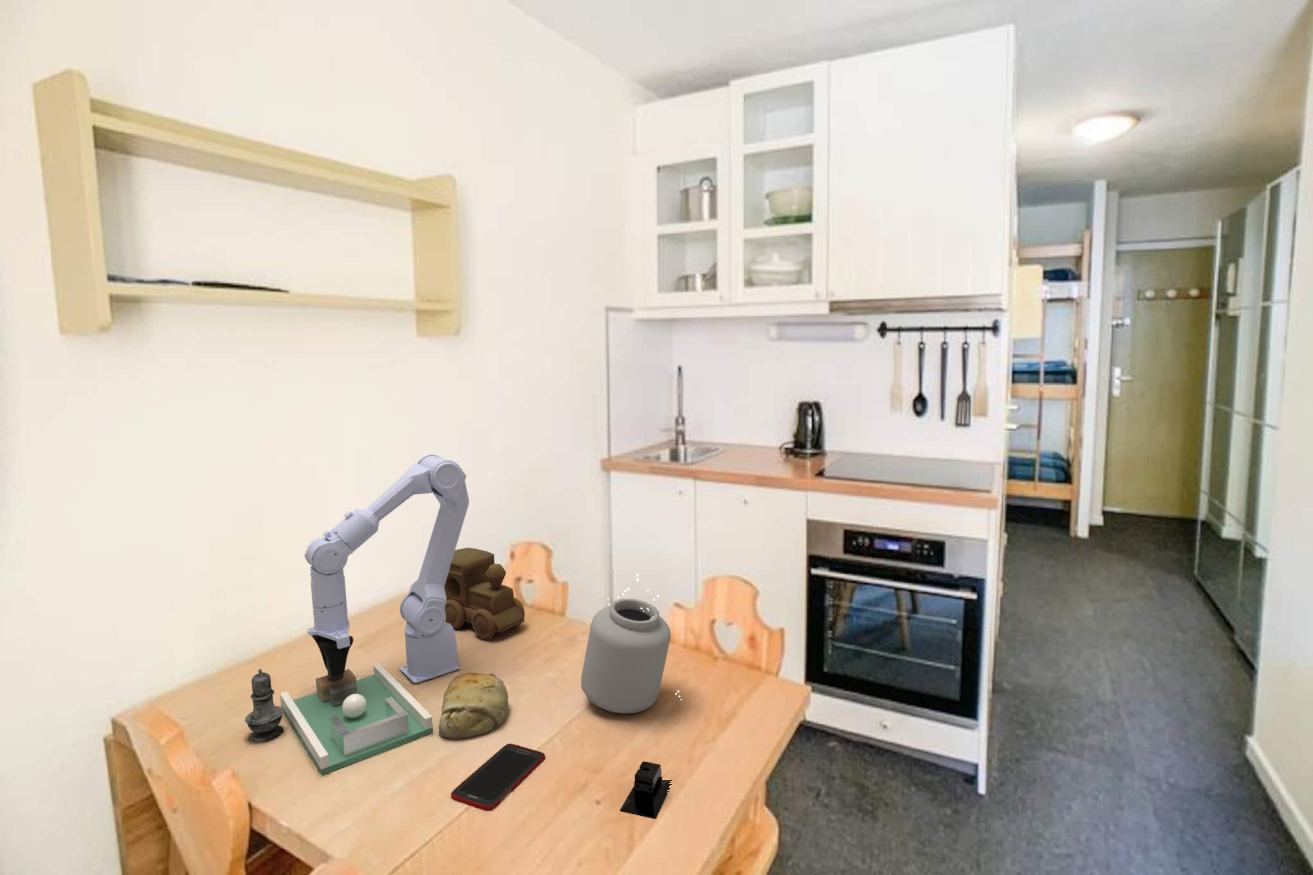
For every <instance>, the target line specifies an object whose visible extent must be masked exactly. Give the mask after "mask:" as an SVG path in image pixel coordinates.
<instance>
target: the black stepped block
mask: <svg viewBox="0 0 1313 875" xmlns="http://www.w3.org/2000/svg"><path fill="white" fill-rule="evenodd" d="M663 777H664V776H662V766H661V764H659V763H654V762H648V761H643V760H642V762H641V764H640V765H639V767H638V769H637V770H636V772H635V773H634V782H633V787H632V789H630V792H629V793H628V796H627V797H626V799H625V800H624V802H623V804H622V806H620V809H619V811H620V812H621V813H626V814H629V815H634V816H639V817H644V818H648V819H652V820H657V818H658V816H659V814H660V812H661V809H662V807H663V805H664V802H665V800H666V798H667V796H668V795H669V792H670V790H671V788H669V786H670V785H673V784H669V783H671V782H670V781H672V780H662V778H663ZM669 789H670V790H669ZM667 790H669V791H667ZM667 792H668V793H667ZM667 794H668V795H667Z"/></svg>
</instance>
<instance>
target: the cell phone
mask: <svg viewBox="0 0 1313 875" xmlns="http://www.w3.org/2000/svg"><path fill="white" fill-rule="evenodd" d="M545 759H546V754H545V753H544V752H542V751H539V750H536V749H532V748H530V747H529V748H528V747H525V746H521V745H519V744H514V743H507V744H505V745H504V746H503V747H501V748H500V749H499V750H498V751H497V752H495V753H494V754H492V756H491V757H490V758H488V759H487V760H486V761H485V762H484V763H483V764H481V766H479V767H478V768H477V769H476V770H474V772H472V773H471V774H470V775H469V776H468V777H466V778H465V779H464V780H463V781H462V782H461V783H460V784H459V785H458V786H456V787H455V788H453V790H452V791H451V794H450V798H451V800H453V801H455V802H458V803H461V804H465V805H468V806H470V807H473V808H476V809H480V810H482V811H487V812H491V811H493V810H494V809H495V808H497V806H499V805H500V804H501V803H502V802H503V800H504V799H505V798H506V797H507V796H508V795H509V794H510V793H512V792H513V791H514V790H515V789H516V788H518V786H519V785H520V784H521V783H523V781H524V780H525V779H526V778H527V777H528V776H530V774H532V772H534V770H535V769H536V768H538V767H539V766H540V764H542V763H543V761H544V760H545Z"/></svg>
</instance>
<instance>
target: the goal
mask: <svg viewBox="0 0 1313 875" xmlns="http://www.w3.org/2000/svg"><path fill="white" fill-rule="evenodd" d="M385 711H386V718H385V719H382V720H379V721H376V722H373V723H370V724H368V725H365V726H362V727H359V728H356V729H353V730H351V731H348V729H347V728H346V727H345V725H344V724H343V723H342V721H341V720H340V719H339V717H338V716H337V715H336V716H333V717H330V718H329V720H330V732H331V738H332V739H333V741H334V742H335V744H336V745H337V747H338V748H339V749H340V751H341V752H342V754H343V755H344V757H347V756H350V755H352V754H355V753H358V752H360V751H363V750H366V749H368V748H371V747H374V746H376V745H379V744H382V743H385V742H387V741H390V740H393V739H395V738H398V737H401V736H403V735H406V734H409V725H408V714H407V713H406V712H405V711H404V710H403V708H402V707H401V706H400V705H399V704H398V703H397V702H396V701H395V700H394V699H393V698H392V697H389V698H386V699H385Z"/></svg>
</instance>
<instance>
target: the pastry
mask: <svg viewBox="0 0 1313 875" xmlns="http://www.w3.org/2000/svg"><path fill="white" fill-rule="evenodd" d="M509 710H510V709H509V694H508V691H507V687H506V685H505V684H504V680H502V678H500V677H498V676H497V675H496V674H494V673H483V672H479V673H478V672H471V671H470V672H467V673H464V674H459V675H457V676H455V677H454V678H452V680H450V682H449V683H448V686H447V688H446V689H445V691H444V693H443V700H442V706H441V716H440V719H439V725H438V736H440V737H442V738H448V739H452V738H453V739H454V738H456V739H458V738H467V737H475V736H479V735H484V734H487V733H489V732H491V731H493V730H495V728H497V727H498V726H499V725H500V724H501V723H502V722H503V721H505V719H506V716H507V714H508V712H509Z"/></svg>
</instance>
